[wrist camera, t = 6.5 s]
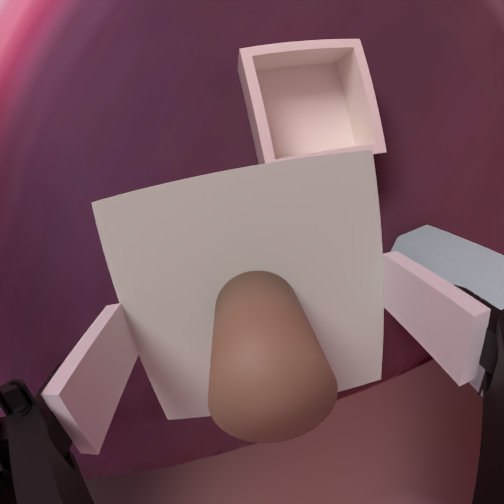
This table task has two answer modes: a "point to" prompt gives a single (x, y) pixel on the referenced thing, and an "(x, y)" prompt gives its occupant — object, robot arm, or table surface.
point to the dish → (309, 99)
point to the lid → (253, 289)
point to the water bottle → (457, 266)
